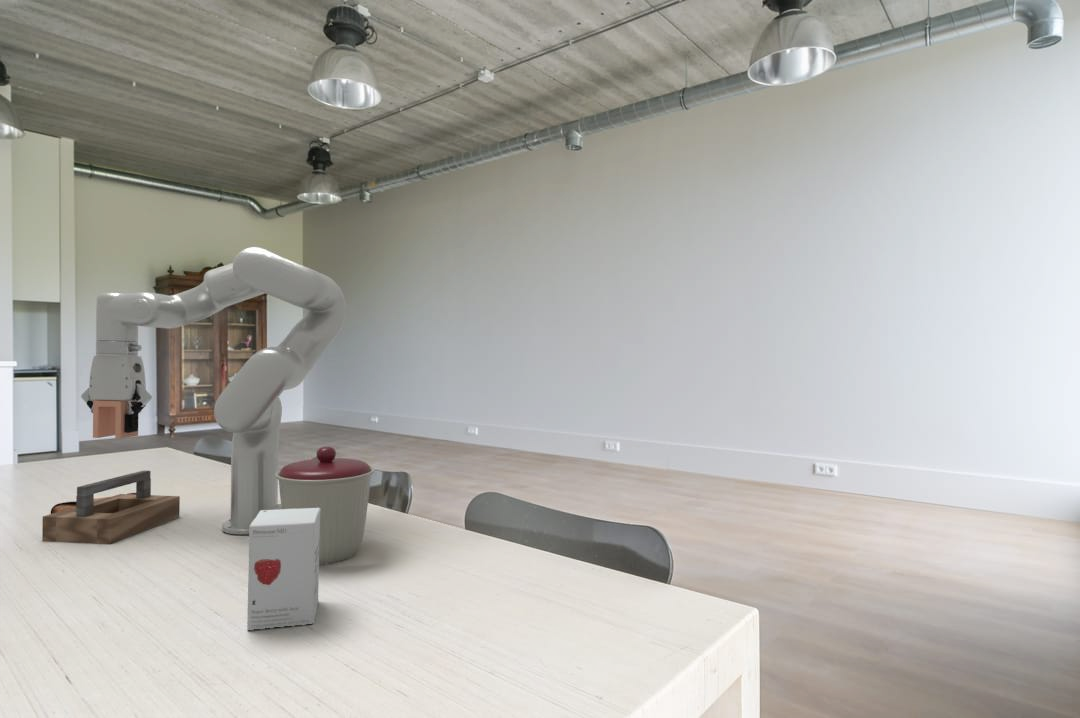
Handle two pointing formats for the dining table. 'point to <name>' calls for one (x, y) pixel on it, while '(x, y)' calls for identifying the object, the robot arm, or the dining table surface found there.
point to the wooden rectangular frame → (111, 512)
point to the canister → (330, 499)
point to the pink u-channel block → (110, 419)
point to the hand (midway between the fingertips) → (116, 430)
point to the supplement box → (283, 568)
